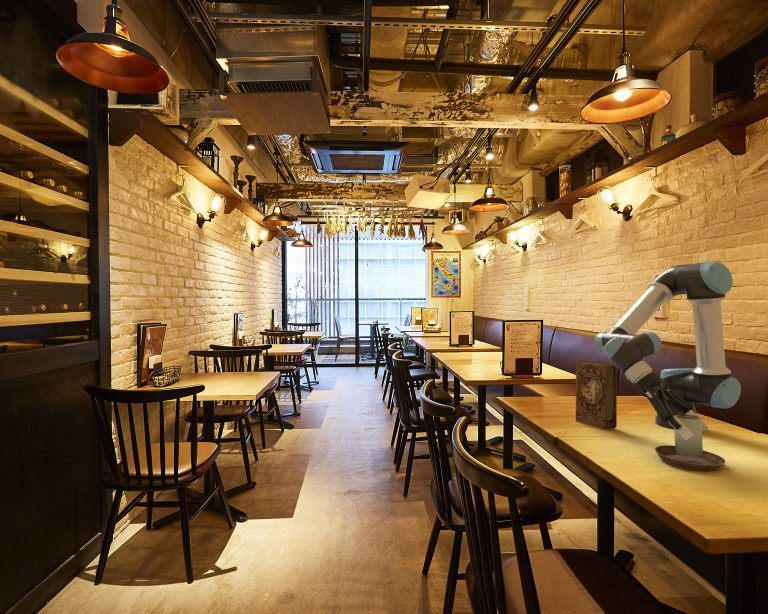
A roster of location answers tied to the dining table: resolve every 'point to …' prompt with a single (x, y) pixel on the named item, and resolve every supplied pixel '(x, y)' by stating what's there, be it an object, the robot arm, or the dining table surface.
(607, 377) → the book
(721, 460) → the plant saucer
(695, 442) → the pale green cup
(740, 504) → the dining table surface
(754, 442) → the dining table surface
